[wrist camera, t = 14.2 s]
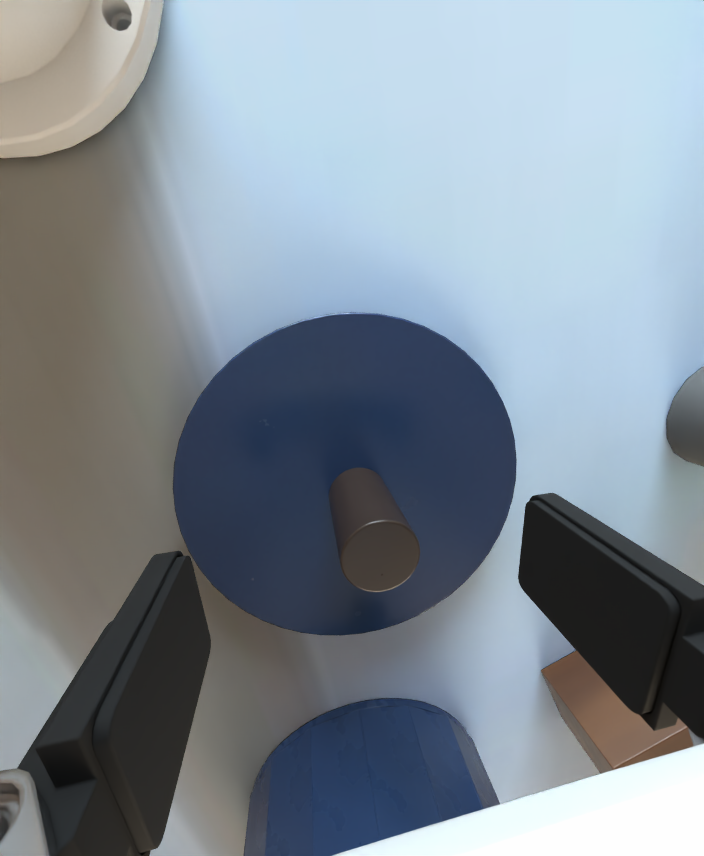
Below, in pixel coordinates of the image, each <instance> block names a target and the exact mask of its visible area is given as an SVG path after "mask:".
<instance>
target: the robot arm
mask: <svg viewBox="0 0 704 856" xmlns="http://www.w3.org/2000/svg"><path fill="white" fill-rule="evenodd" d="M163 4H164V2H163V0H0V158H15V157H33V156H41V155H45V154H49V153H52V152H56V151H59V150H63V149H67V148H70V147H73V146H75V145H76V144H78V143H80V142H82V141H84V140H85V139H87V138H89V137H91V136H93V135H94V134H96V133H98V132H100V131H101V130H102V129H103V128H104V127H105V126H107V125H108V124H109V123H110V122H111V121H112V120H113V119H114V118H115V117H116V116H117V115H118V114H119V113H120V112H121V111H122V110H123V109H125V107H126V106H127V104H128V103H129V101H130V100H131V98H132V97H133V95H134V94H135V92H136V90H137V89H138V87H139V86H140V84H141V83H142V81H143V80H144V77H145V75H146V72H147V69H148V67H149V64H150V61H151V59H152V56H153V53H154V51H155V48H156V45H157V41H158V35H159V29H160V22H161V16H162V10H163ZM518 579H519V583H520V586H521V588H522V589H523V591H524V592H525V593H526V594H527V595H528V596H529V597H530V599H531V600H532V601H533V602H534V603H535V604H536V605H537V606H538V608H539V609H540V610H541V611H542V612H543V613H544V614H545V615H546V617H547V618H548V619H549V620H550V621H551V622H552V623H553V624H554V626H555V627H556V628H557V629H558V630H559V631H560V632H561V633H562V635H563V636H564V637H565V638H566V639H567V640H568V641H569V642H570V644H571V645H572V646H573V647H574V648H575V649H576V650H577V651H578V653H579V654H580V655H581V656H582V657H583V658H584V659H585V660H586V662H587V663H588V664H589V665H590V666H591V667H592V668H593V669H594V671H595V672H596V673H597V674H598V675H599V676H600V677H601V678H602V680H603V681H604V682H605V683H606V684H607V685H608V686H609V687H610V689H611V690H612V691H613V692H614V693H615V694H616V695H617V696H618V698H619V699H620V700H621V701H622V702H623V703H624V704H625V705H626V707H628V708H629V709H630V710H631V711H632V712H634V713H636V714H638V715H640V716H641V717H642V718H643V719H644V721H645V722H646V723H647V724H648V725H649V726H650V727H651V728H652V729H653V731H657V730H660V729H664V728H667V727H671V726H674V725H676V722H677V719H678V718H679V719H680V720H681V721H682V722H683V723H684V724H685V725H686V726H687V727H688V730H689V733H690V736H691V739H692V742H693V745H694V746H693V747H690V748H687V749H683V750H680V751H676V752H673V753H670V754H666V755H663V756H659V757H656V758H653V759H649V760H646V761H642V762H639V763H636V764H632V765H629V766H625V767H622V768H619V769H615V770H612V771H608V772H605V773H602V774H598V775H595V776H592V777H588V778H585V779H582V780H578V781H575V782H572V783H568V784H565V785H562V786H558V787H555V788H552V789H548V790H545V791H542V792H538V793H535V794H532V795H528V796H525V797H522V798H518V799H515V800H512V801H508V802H505V803H502V804H498V805H495V806H492V807H489V808H485V809H482V810H479V811H475V812H472V813H469V814H465V815H462V816H459V817H456V818H452V819H449V820H446V821H442V822H439V823H436V824H432V825H429V826H426V827H423V828H419V829H416V830H413V831H410V832H406V833H403V834H400V835H397V836H394V837H390V838H387V839H384V840H381V841H377V842H374V843H371V844H368V845H364V846H361V847H358V848H355V849H351V850H348V851H345V852H342V853H338V854H335V855H332V856H704V586H703V585H702V584H700V583H698V582H697V581H695V580H694V579H692V578H690V577H689V576H687V575H686V574H684V573H682V572H681V571H679V570H678V569H676V568H674V567H673V566H671V565H669V564H668V563H666V562H665V561H663V560H661V559H660V558H658V557H657V556H655V555H653V554H652V553H650V552H649V551H647V550H645V549H644V548H642V547H641V546H639V545H637V544H636V543H634V542H632V541H631V540H629V539H628V538H626V537H624V536H623V535H621V534H620V533H618V532H616V531H615V530H613V529H612V528H610V527H608V526H607V525H605V524H603V523H602V522H600V521H599V520H597V519H595V518H594V517H592V516H591V515H589V514H587V513H586V512H584V511H583V510H581V509H579V508H578V507H576V506H575V505H573V504H571V503H570V502H568V501H566V500H565V499H563V498H562V497H560V496H558V495H557V494H554V493H548V494H541V495H535V496H532V497H531V499H530V501H529V502H527V504H526V507H525V517H524V526H523V536H522V546H521V555H520V565H519V575H518ZM210 648H211V639H210V634H209V630H208V626H207V622H206V617H205V613H204V609H203V605H202V601H201V597H200V593H199V589H198V585H197V581H196V577H195V573H194V569H193V565H192V561H191V558H190V556H183V554H182V552H181V551H175V552H168V553H162V554H156V555H154V556H153V557H152V558H151V560H150V561H149V563H148V565H147V566H146V568H145V570H144V571H143V573H142V574H141V576H140V578H139V579H138V581H137V583H136V584H135V586H134V588H133V589H132V591H131V592H130V594H129V596H128V597H127V599H126V601H125V602H124V604H123V605H122V607H121V609H120V610H119V612H118V614H117V615H116V617H115V618H114V620H113V621H111V622H110V623H109V624H108V625H107V626H106V628H105V629H104V630H103V632H102V634H101V635H100V637H99V638H98V640H97V642H96V643H95V645H94V646H93V648H92V650H91V651H90V653H89V654H88V656H87V658H86V659H85V661H84V662H83V664H82V666H81V667H80V669H79V670H78V672H77V674H76V675H75V677H74V678H73V680H72V682H71V683H70V685H69V686H68V688H67V690H66V691H65V693H64V694H63V696H62V697H61V699H60V701H59V702H58V704H57V705H56V707H55V709H54V710H53V712H52V713H51V715H50V717H49V718H48V720H47V721H46V723H45V725H44V726H43V728H42V729H41V731H40V733H39V734H38V736H37V737H36V739H35V741H34V742H33V744H32V745H31V747H30V749H29V750H28V752H27V753H26V755H25V757H24V758H23V760H22V761H21V763H20V765H19V766H18V768H17V769H10V770H3V771H0V856H149V854H150V850H152V849H156V848H158V846H159V845H160V843H161V841H162V838H163V835H164V832H165V828H166V824H167V820H168V816H169V812H170V808H171V804H172V800H173V796H174V792H175V788H176V785H177V781H178V777H179V773H180V769H181V765H182V761H183V757H184V753H185V749H186V745H187V741H188V737H189V733H190V729H191V725H192V721H193V718H194V714H195V710H196V706H197V702H198V698H199V694H200V690H201V686H202V682H203V678H204V674H205V670H206V666H207V662H208V658H209V654H210Z"/></svg>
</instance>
